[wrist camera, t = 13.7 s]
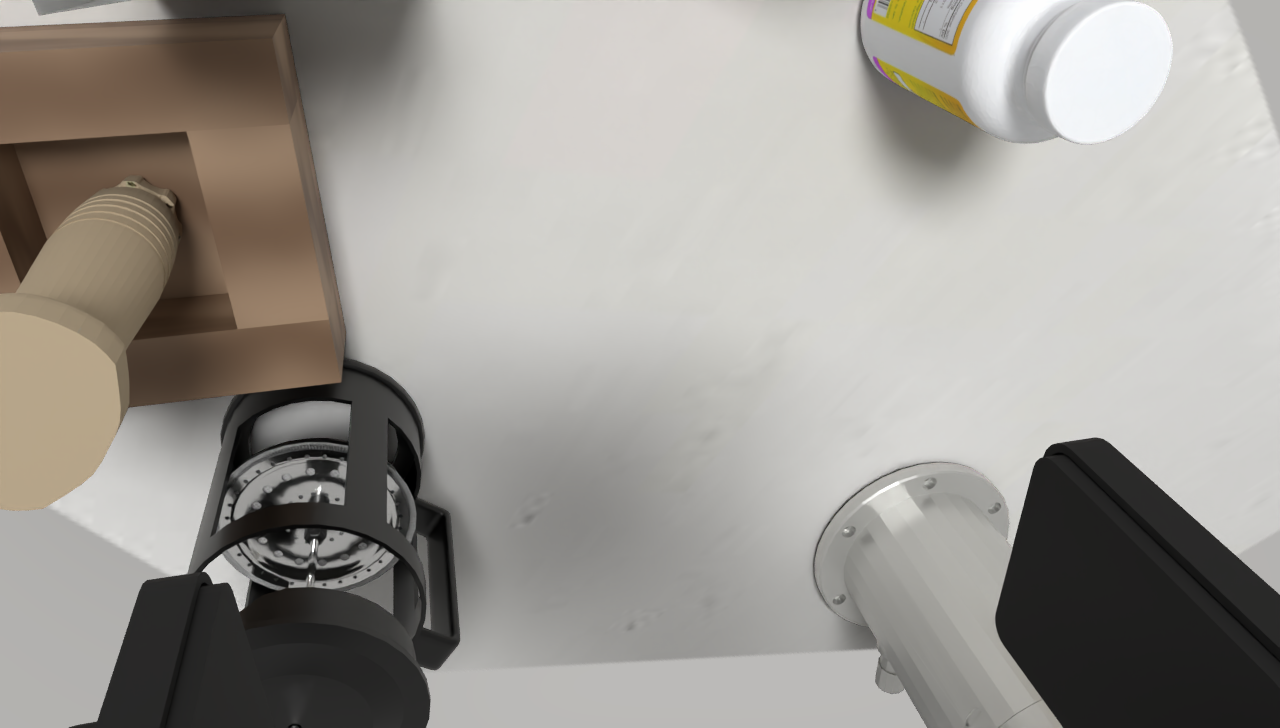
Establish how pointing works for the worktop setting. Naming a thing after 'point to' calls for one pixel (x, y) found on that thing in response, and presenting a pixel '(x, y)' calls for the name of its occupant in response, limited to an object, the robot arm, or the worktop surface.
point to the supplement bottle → (1025, 62)
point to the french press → (335, 557)
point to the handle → (78, 339)
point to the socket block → (181, 190)
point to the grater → (68, 5)
